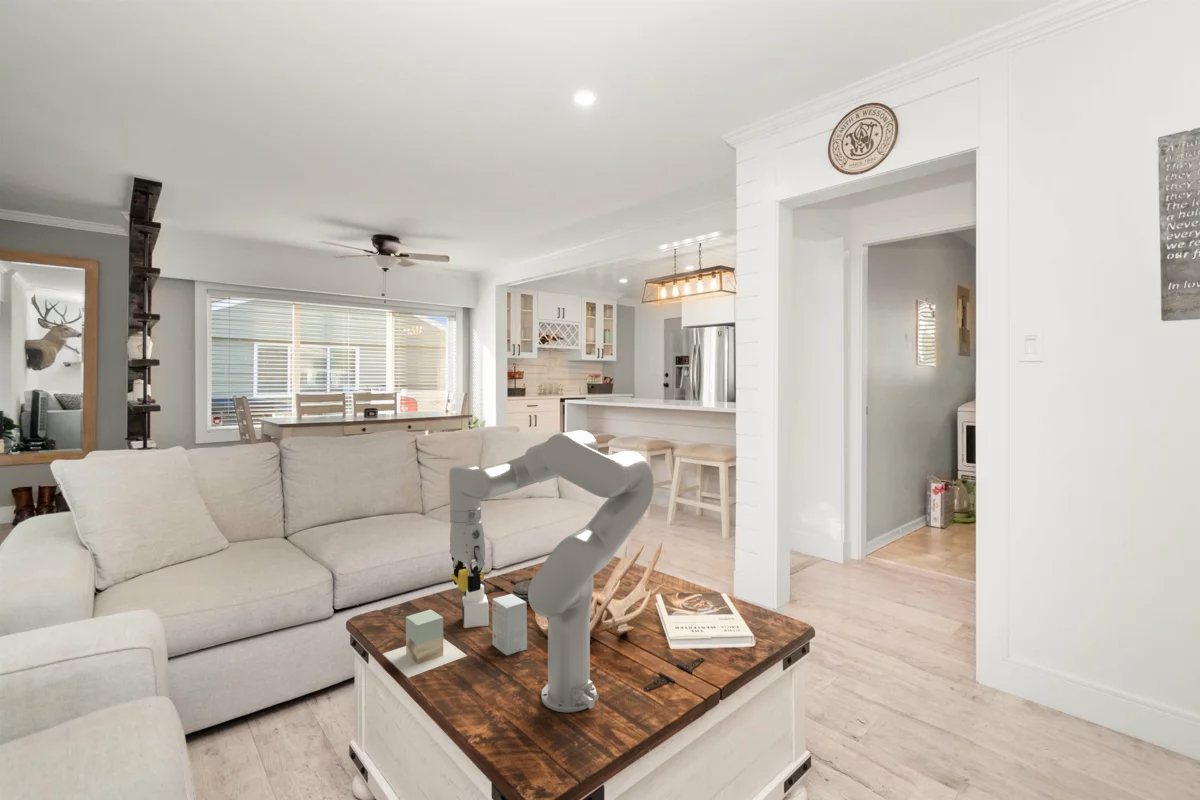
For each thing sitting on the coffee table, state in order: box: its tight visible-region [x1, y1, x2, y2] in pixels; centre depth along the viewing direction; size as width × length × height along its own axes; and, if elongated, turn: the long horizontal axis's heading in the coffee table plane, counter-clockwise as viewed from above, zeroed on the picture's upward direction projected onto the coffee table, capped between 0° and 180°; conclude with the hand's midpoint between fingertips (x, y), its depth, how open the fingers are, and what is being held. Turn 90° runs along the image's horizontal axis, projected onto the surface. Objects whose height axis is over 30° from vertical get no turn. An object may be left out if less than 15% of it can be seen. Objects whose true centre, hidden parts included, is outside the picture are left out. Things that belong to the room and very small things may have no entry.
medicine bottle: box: [461, 581, 490, 629], centre depth 166 cm, size 7×7×12 cm
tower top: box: [405, 609, 444, 645], centre depth 146 cm, size 7×7×5 cm
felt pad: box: [382, 637, 468, 679], centre depth 146 cm, size 16×16×1 cm
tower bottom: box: [405, 635, 444, 664], centre depth 146 cm, size 7×7×5 cm
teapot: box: [450, 567, 485, 593], centre depth 138 cm, size 8×6×5 cm
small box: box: [491, 593, 528, 656], centre depth 150 cm, size 8×6×13 cm
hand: (467, 586), depth 139 cm, fingers closed on teapot, 6 cm apart
